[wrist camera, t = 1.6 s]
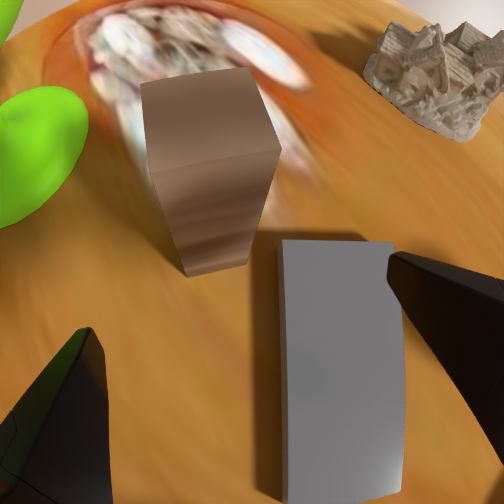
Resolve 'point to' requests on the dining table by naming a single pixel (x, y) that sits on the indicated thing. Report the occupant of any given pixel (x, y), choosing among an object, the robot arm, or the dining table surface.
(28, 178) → the wineglass
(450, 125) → the ceramic cottage
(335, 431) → the slate board
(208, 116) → the walnut block
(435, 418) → the dining table surface
